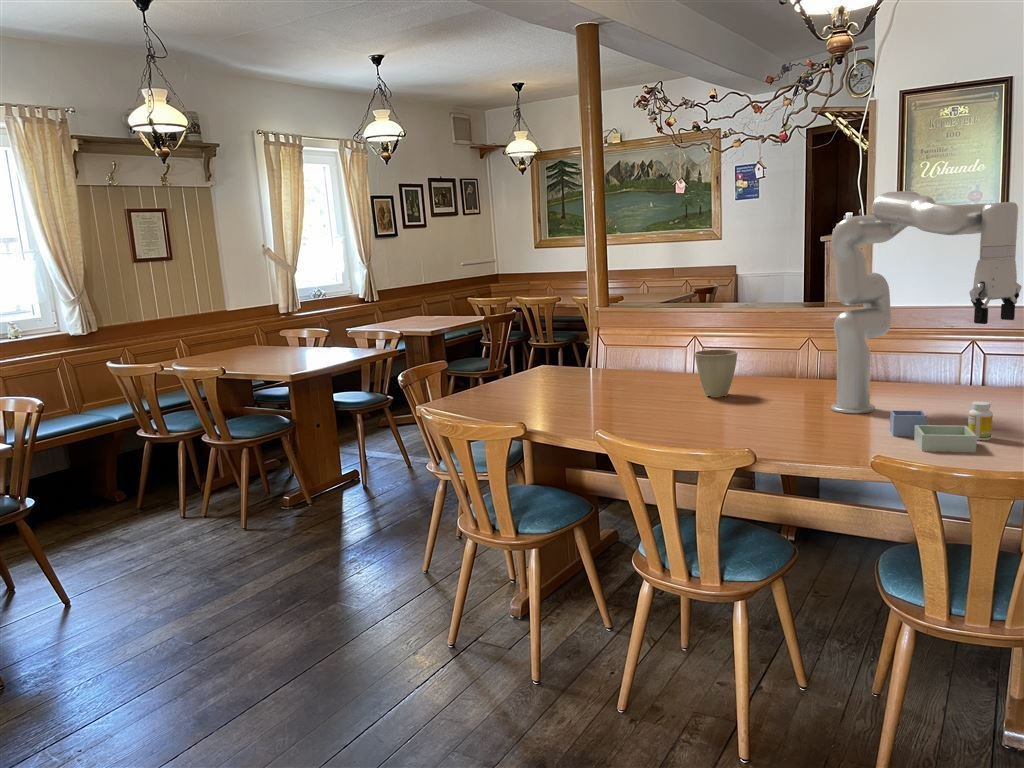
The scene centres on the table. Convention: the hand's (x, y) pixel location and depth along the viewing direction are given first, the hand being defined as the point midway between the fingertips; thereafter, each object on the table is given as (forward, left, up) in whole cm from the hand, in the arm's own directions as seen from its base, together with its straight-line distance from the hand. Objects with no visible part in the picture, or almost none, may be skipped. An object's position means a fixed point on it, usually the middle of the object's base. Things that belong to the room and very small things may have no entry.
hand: (994, 321), depth 187 cm
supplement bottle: (-2, -2, -31) cm, 31 cm away
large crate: (+7, -11, -31) cm, 34 cm away
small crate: (-5, -18, -31) cm, 36 cm away
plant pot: (-55, -72, -31) cm, 96 cm away
